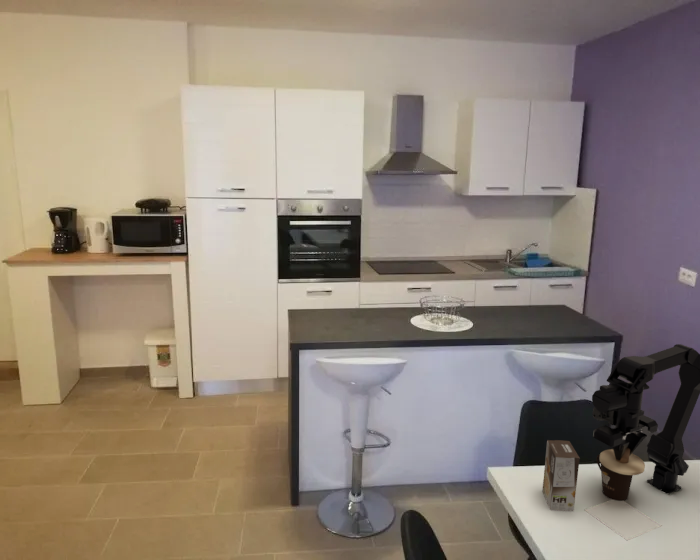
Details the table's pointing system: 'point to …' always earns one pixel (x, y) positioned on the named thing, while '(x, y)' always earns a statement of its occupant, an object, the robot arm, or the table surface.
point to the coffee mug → (614, 483)
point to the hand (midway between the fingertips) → (622, 458)
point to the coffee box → (560, 475)
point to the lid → (622, 462)
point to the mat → (622, 518)
